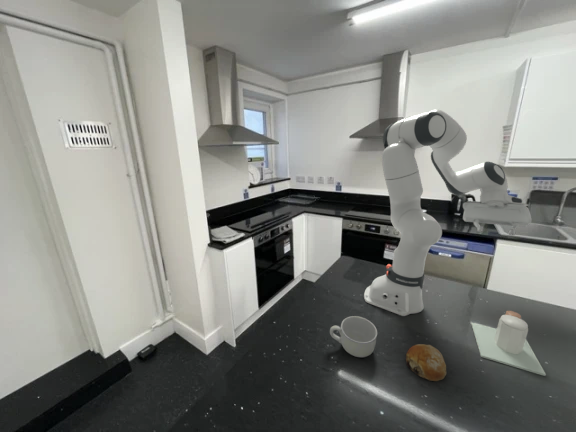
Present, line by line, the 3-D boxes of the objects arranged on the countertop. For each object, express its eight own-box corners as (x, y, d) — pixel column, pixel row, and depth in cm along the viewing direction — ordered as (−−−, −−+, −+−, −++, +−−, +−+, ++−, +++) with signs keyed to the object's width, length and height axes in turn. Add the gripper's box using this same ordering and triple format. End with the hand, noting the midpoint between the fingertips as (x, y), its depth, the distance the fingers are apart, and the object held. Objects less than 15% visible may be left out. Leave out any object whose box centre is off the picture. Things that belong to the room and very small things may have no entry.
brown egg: (506, 323, 85) (508, 315, 84) (502, 316, 89) (504, 309, 88) (521, 326, 83) (523, 319, 83) (517, 319, 87) (519, 312, 86)
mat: (481, 356, 72) (481, 355, 71) (471, 323, 85) (471, 322, 85) (545, 376, 65) (545, 374, 65) (523, 337, 79) (524, 335, 79)
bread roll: (442, 395, 64) (461, 376, 62) (407, 376, 65) (424, 356, 62) (429, 364, 74) (445, 346, 71) (398, 348, 74) (413, 330, 72)
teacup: (375, 340, 78) (377, 319, 76) (375, 368, 68) (377, 344, 66) (332, 331, 83) (333, 311, 81) (327, 355, 73) (327, 333, 71)
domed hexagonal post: (498, 349, 73) (504, 324, 71) (492, 336, 79) (498, 312, 76) (524, 356, 71) (531, 330, 68) (517, 342, 76) (523, 318, 74)
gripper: (464, 196, 99) (464, 225, 93) (531, 200, 89) (535, 232, 84) (461, 204, 104) (460, 232, 98) (524, 209, 94) (527, 240, 88)
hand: (495, 232), depth 91 cm, fingers open, 8 cm apart
